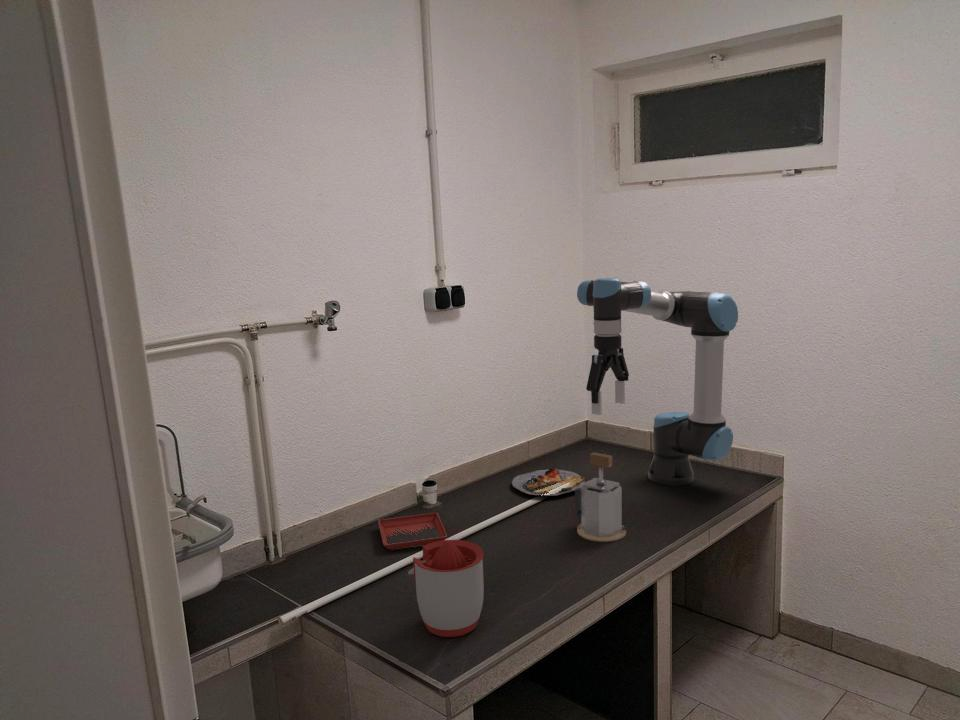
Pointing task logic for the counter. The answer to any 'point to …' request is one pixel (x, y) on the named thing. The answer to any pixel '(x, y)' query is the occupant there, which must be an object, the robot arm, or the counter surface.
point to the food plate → (549, 481)
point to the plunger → (601, 464)
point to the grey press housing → (600, 511)
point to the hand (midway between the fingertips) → (608, 408)
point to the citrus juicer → (449, 586)
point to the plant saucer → (411, 529)
